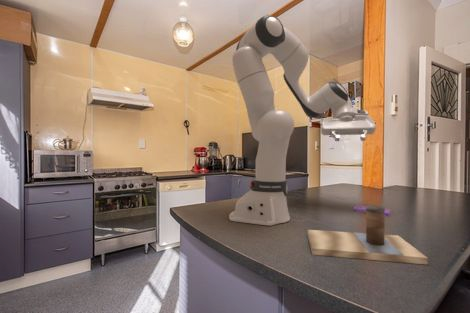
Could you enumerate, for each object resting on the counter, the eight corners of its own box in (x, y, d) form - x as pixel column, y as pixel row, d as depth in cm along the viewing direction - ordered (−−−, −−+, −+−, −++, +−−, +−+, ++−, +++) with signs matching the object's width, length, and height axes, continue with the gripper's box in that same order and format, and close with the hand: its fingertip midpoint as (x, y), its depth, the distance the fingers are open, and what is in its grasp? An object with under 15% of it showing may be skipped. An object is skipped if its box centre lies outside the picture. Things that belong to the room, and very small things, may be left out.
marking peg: (369, 244, 58) (369, 208, 58) (363, 238, 62) (364, 205, 62) (387, 246, 57) (387, 209, 57) (380, 240, 61) (381, 205, 61)
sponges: (356, 209, 103) (356, 205, 103) (391, 213, 95) (391, 209, 95) (353, 212, 97) (353, 208, 97) (389, 217, 90) (389, 212, 90)
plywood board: (312, 254, 56) (312, 247, 56) (307, 234, 70) (307, 229, 70) (427, 264, 51) (427, 257, 51) (398, 240, 65) (398, 235, 65)
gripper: (319, 112, 101) (322, 134, 91) (372, 111, 96) (381, 132, 87) (318, 124, 105) (321, 145, 96) (368, 123, 101) (376, 145, 91)
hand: (350, 139), depth 91 cm, fingers open, 8 cm apart
